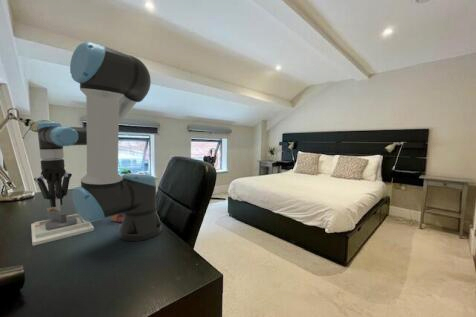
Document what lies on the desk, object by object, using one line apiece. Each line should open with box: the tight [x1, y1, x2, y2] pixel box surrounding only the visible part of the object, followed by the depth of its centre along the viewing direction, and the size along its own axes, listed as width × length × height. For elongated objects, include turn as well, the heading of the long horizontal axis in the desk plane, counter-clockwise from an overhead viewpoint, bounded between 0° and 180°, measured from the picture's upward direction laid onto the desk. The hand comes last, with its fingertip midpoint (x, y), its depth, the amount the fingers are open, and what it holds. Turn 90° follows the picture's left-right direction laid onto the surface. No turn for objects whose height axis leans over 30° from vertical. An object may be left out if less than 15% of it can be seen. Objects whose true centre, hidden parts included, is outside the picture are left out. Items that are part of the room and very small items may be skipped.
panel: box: [30, 213, 95, 247], centre depth 88 cm, size 22×18×3 cm
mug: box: [110, 213, 124, 223], centre depth 99 cm, size 12×9×11 cm
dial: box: [45, 207, 77, 230], centre depth 89 cm, size 15×10×6 cm, turn 62°
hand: (57, 213), depth 93 cm, fingers closed
